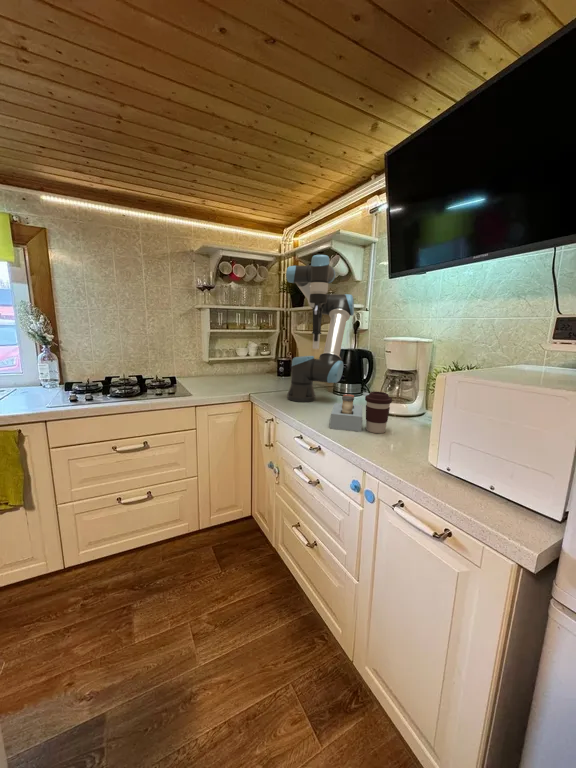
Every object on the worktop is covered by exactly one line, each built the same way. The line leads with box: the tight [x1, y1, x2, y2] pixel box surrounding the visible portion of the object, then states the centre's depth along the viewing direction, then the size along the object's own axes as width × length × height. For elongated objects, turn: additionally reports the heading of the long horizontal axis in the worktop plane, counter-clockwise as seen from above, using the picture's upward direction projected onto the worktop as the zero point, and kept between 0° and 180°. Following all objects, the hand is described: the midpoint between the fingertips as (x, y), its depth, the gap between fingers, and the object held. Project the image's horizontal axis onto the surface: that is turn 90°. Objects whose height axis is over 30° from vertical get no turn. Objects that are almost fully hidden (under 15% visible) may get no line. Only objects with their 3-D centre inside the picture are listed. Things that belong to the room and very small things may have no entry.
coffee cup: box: [364, 391, 393, 434], centre depth 124 cm, size 10×10×15 cm
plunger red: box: [342, 394, 355, 409], centre depth 136 cm, size 5×5×9 cm
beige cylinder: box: [341, 395, 355, 414], centre depth 127 cm, size 5×5×9 cm
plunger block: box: [329, 402, 363, 433], centre depth 132 cm, size 18×12×6 cm, turn 167°
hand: (315, 348), depth 141 cm, fingers closed
